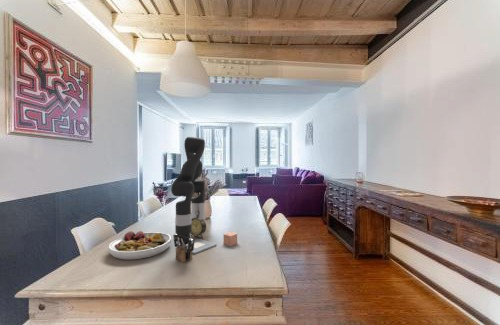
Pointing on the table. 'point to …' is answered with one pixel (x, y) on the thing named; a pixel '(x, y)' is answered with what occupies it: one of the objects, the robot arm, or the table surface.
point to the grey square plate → (201, 246)
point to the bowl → (139, 245)
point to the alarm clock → (198, 226)
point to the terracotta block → (230, 238)
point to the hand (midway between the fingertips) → (183, 257)
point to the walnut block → (182, 254)
